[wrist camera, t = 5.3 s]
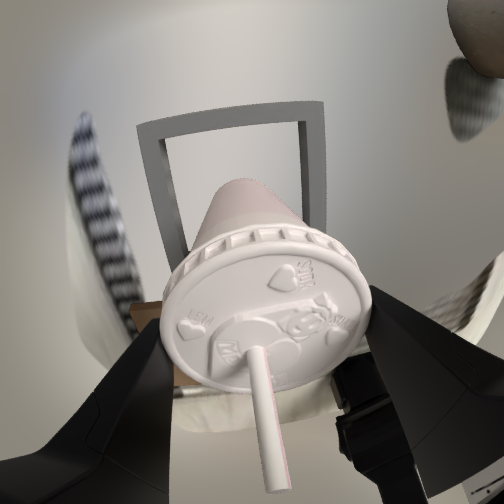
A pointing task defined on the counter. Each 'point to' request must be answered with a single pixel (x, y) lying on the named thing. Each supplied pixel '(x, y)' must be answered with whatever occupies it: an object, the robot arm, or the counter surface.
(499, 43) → the pillar candle
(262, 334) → the smoothie
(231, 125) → the frame
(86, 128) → the counter surface
